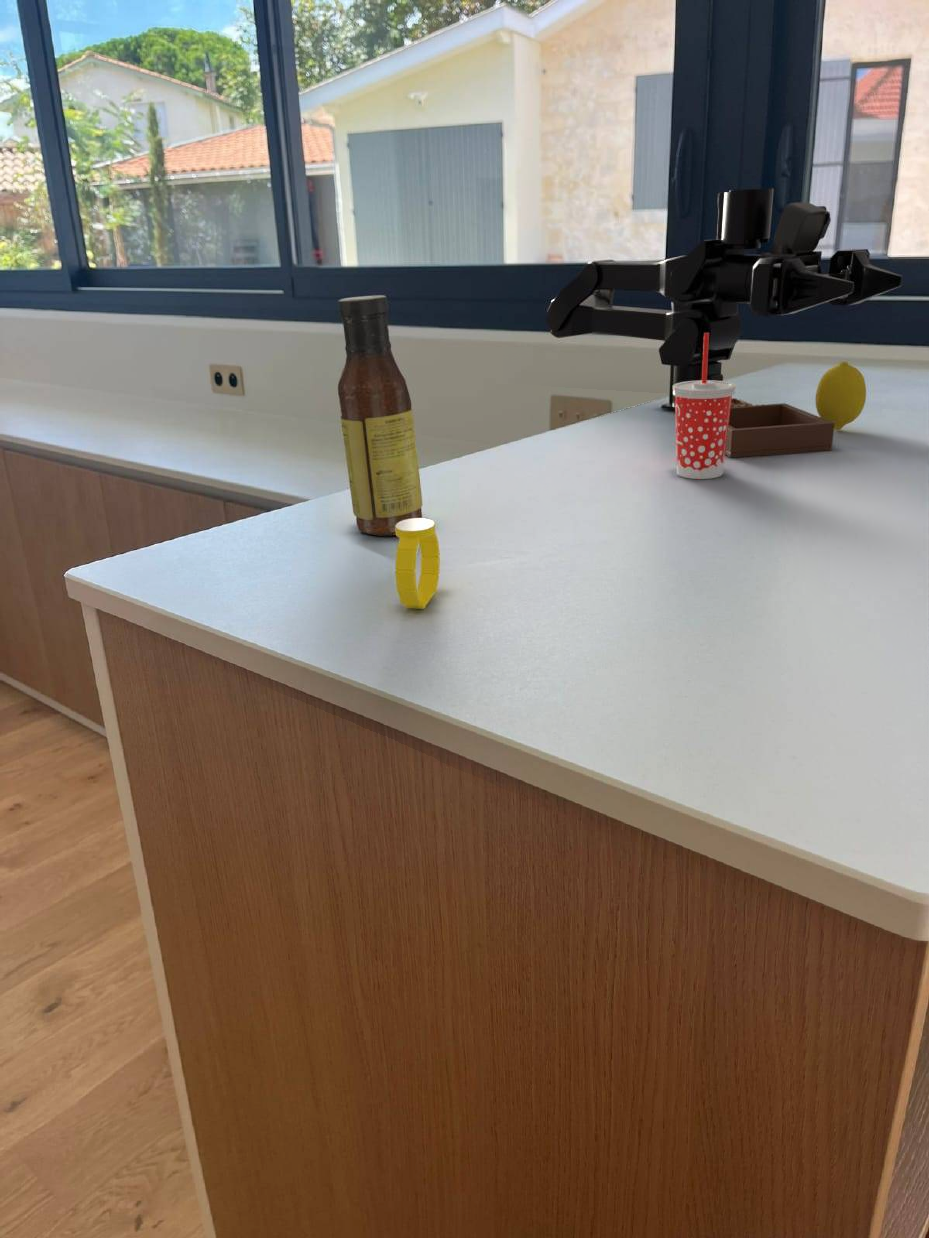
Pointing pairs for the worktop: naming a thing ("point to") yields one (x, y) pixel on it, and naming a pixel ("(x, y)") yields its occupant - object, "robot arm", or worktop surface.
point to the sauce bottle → (376, 421)
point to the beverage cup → (702, 423)
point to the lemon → (841, 395)
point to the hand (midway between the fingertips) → (877, 284)
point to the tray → (776, 431)
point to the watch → (405, 566)
